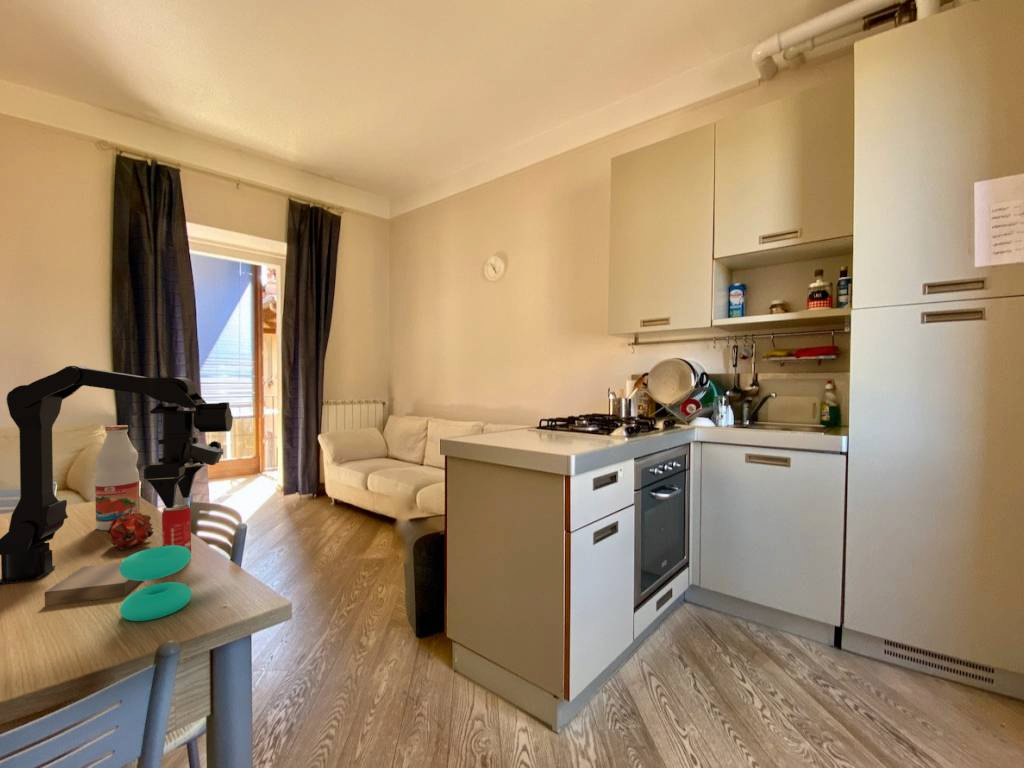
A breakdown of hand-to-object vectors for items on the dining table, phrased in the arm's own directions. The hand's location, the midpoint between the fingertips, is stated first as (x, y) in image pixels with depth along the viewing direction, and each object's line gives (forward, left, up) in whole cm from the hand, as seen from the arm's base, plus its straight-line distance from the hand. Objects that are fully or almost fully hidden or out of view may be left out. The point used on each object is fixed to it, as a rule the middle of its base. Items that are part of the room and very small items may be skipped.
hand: (178, 502), depth 103 cm
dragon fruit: (-15, +15, -13) cm, 25 cm away
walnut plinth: (-9, -11, -13) cm, 19 cm away
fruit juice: (-26, +35, -13) cm, 46 cm away
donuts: (+5, -25, -13) cm, 29 cm away
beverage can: (0, 0, -13) cm, 13 cm away
